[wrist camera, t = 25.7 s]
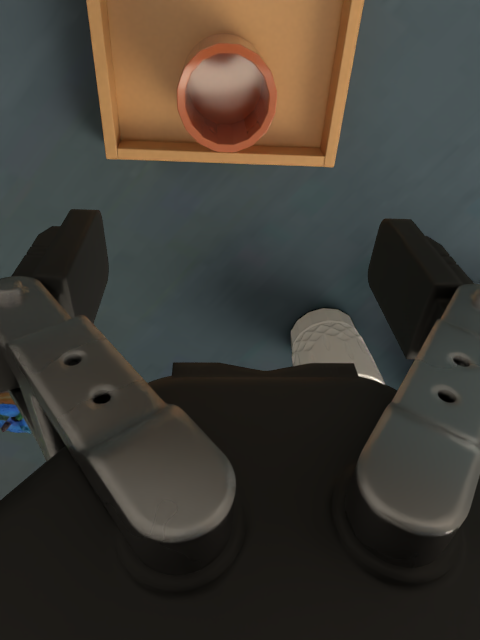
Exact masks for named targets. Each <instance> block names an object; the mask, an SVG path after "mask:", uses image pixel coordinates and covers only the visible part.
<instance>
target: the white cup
mask: <svg viewBox="0 0 480 640" xmlns="http://www.w3.org/2000/svg"><path fill="white" fill-rule="evenodd" d="M291 348H292V362H293V366H297V365H303V364H308V363H354V365H355V368H356V370H357V373H358V376H359V377H364V378H367V379H371V380H374V381H377V382H380V383H382V384H385V382H384V380H383V378H382V376H381V374H380V372H379V370H378V368H377V366H376V364H375V362H374V359H373V357H372V355H371V354H370V352H369V350H368V348H367V346H366V344H365V343H364V341H363V339H362V337H361V336H360V335H359V333H358V332H357V329H356V327H355V325H354V324H353V322H352V320H351V318H350V316H348V315H347V314H345V313H343V312H341V311H340V310H338V309H328V308H322V309H318V310H315V311H311V312H308V313H307V314H305V315H304V316H303V317H301V318H300V319H299V320H297V322H296V323H295V325H294V327H293V329H292V330H291ZM385 385H386V384H385Z"/></svg>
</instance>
